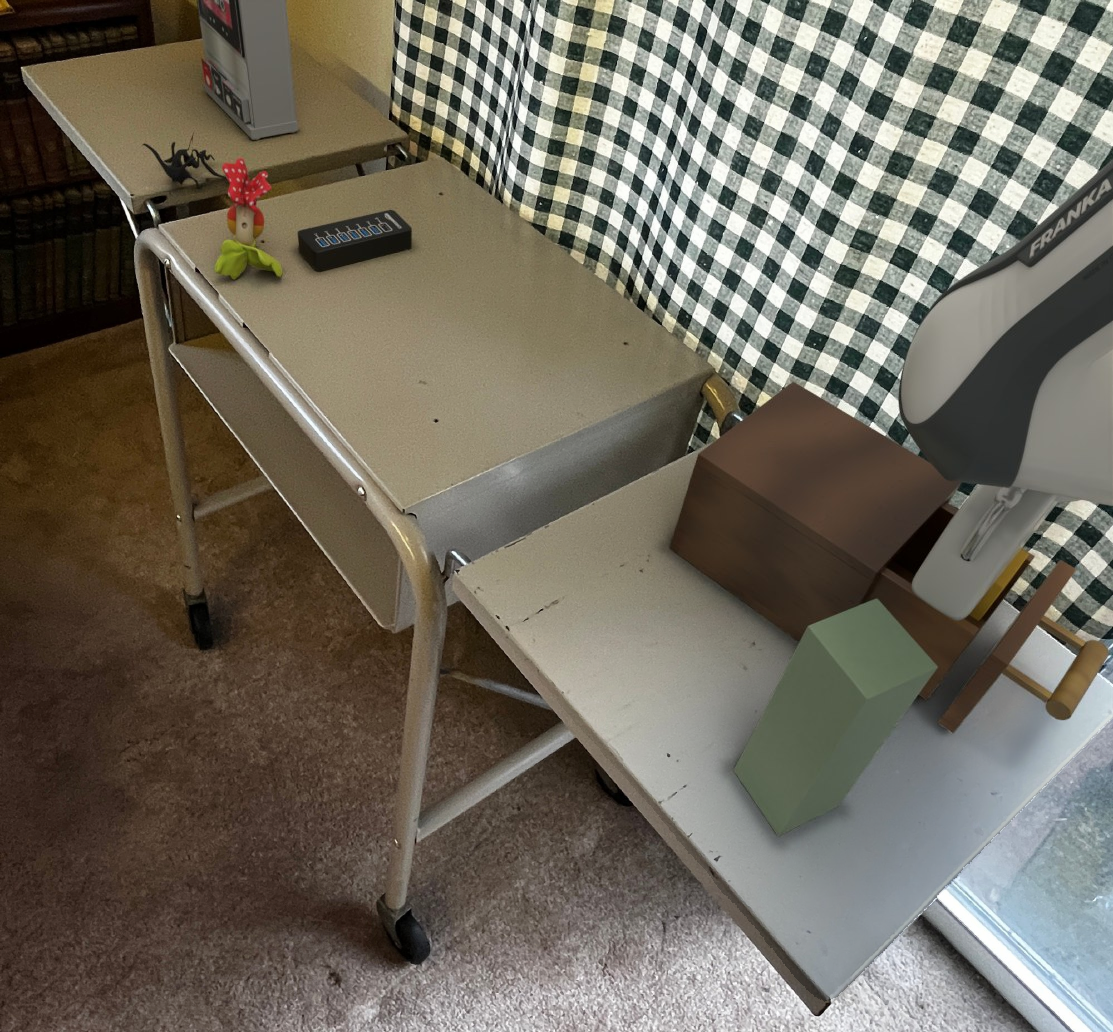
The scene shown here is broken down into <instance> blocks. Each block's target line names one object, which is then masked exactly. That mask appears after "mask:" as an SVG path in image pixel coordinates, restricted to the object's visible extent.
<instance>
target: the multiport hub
mask: <svg viewBox="0 0 1113 1032" xmlns="http://www.w3.org/2000/svg"><path fill="white" fill-rule="evenodd" d="M297 242H298V251H299V252H298V253H299V254H300V255H301V256H302V257H303V258H304V259H305V261H306V262H307V264H309V266H310V267H311V268H312V269H313V270H314V271H315V272H318V273H320V272H324V271H328V270H333V269H337V268H341V267H344V266H348V265H349V266H350V265H353V264H355V263H360V262H364V261H368V260H372V259H376V258H380V257H384V256H388V255H392V254H395V253H399V252H404V251H407V250H411V249H412V247H413V245H412V243H413V228H412V226H411V225H410V224H409V223H408V222H407V221H406V220H405V219H404V218H403V217H401V215H400V214H399V213H398V212H397V211H395V210H394V209H387V210H383V211H377V212H375V213H369V214H364V215H361V216H356V217H352V218H347V219H344V220H339V221H335V222H330V223H326V224H321V225H317V226H313V227H308V228H304V229H299V230H297Z"/></svg>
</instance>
